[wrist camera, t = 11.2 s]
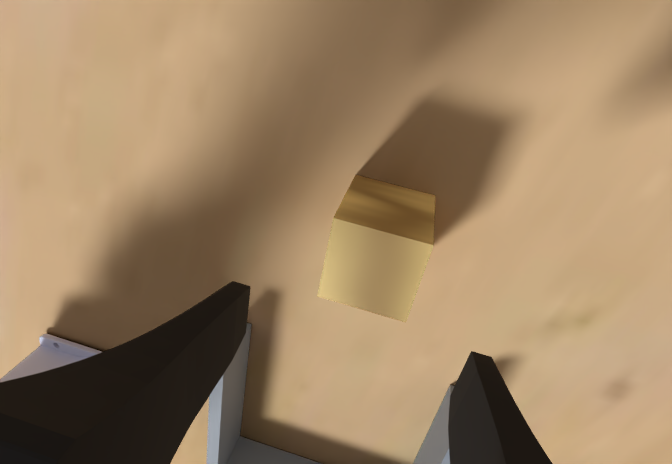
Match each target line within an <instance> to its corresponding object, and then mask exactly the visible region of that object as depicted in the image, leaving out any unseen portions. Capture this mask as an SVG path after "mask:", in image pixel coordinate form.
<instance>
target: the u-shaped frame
mask: <svg viewBox="0 0 672 464" xmlns="http://www.w3.org/2000/svg"><path fill="white" fill-rule="evenodd" d="M251 326H252V324H249V323H247V326H246V334H245V336H244V338H243V340H242V342H241V344H240V346H239V348H238V350H237V352H236V354H235V356H234V358H233V360H232V362H231V363H230V365H229V366H228V368H227V369H226V371H225V373H224V374H223V376H222V377H221V379H220V380H219V382H218V383H217V385H216V386H215V388H214V389H213V391H212V393H211V394H210V396H209V416H208V441H207V464H321V463H318V462H315V461H312V460H309V459H306V458H304V457H301V456H298V455H295V454H292V453H289V452H286V451H283V450H280V449H277V448H274V447H271V446H268V445H265V444H262V443H259V442H256V441H253V440H250V439H247V438H244V437H241V436H240V431H241V422H242V412H243V402H244V393H245V383H246V374H247V364H248V354H249V345H250V335H251ZM453 388H454V386H453V385H450V387H449V389H448V391H447V393H446V395H445V397H444V399H443V401H442V403H441V405H440V408H439V410H438V412H437V414H436V416H435V418H434V420H433V422H432V424H431V427H430V429H429V431H428V433H427V435H426V437H425V439H424V441H423V443H422V446H421V448H420V450H419V452H418V454H417V456H416V458H415V460H414V462H413V464H450V455H449V437H448V420H449V405H450V395H451V393H452V391H453Z"/></svg>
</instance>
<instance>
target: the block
mask: <svg viewBox="0 0 672 464" xmlns="http://www.w3.org/2000/svg"><path fill="white" fill-rule="evenodd" d="M434 218H435V195H432V194H428V193H424V192H420V191H416V190H412V189H409V188H405V187H401V186H397V185H393V184H389V183H386V182H382V181H378V180H374V179H370V178H367V177H363V176H359V175H355V177H354V179H353V181H352V183H351V185H350V187H349V189H348V191H347V193H346V195H345V196H344V198H343V200H342V202H341V204H340V206H339V208H338V210H337V212H336V214H335V216H334V218H333V222H332V227H331V232H330V237H329V241H328V246H327V251H326V256H325V261H324V266H323V271H322V275H321V280H320V285H319V290H318V295H317V297H321V298H324V299H328V300H331V301H334V302H338V303H341V304H345V305H348V306H351V307H355V308H358V309H362V310H365V311H368V312H372V313H375V314H379V315H382V316H385V317H389V318H392V319H396V320H399V321H402V322H406V321H407V318H408V315H409V312H410V309H411V307H412V304H413V301H414V298H415V296H416V293H417V290H418V287H419V284H420V282H421V279H422V276H423V273H424V271H425V268H426V265H427V262H428V259H429V257H430V254H431V251H432V248H433V245H434Z"/></svg>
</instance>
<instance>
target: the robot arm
mask: <svg viewBox="0 0 672 464" xmlns="http://www.w3.org/2000/svg"><path fill="white" fill-rule="evenodd" d="M249 296H250V286H247V285H244V284H240V283H237V282H234V281H233V282H231V283H229V284H227V285H226V286H224V287H223V288H221V289H220V290H218V291H217V292H215V293H214V294H212V295H211V296H209V297H208V298H206V299H204V300H203V301H201V302H200V303H198V304H197V305H195V306H193V307H192V308H190V309H188V310H187V311H185V312H184V313H182V314H180V315H179V316H177V317H175V318H173V319H172V320H170V321H168V322H166V323H164V324H162V325H161V326H159V327H157V328H155V329H153V330H151V331H149V332H147V333H145V334H143V335H141V336H139V337H137V338H135V339H133V340H131V341H129V342H126V343H124V344H122V345H119V346H117V347H115V348H112V349H109V350H107V351H104V352H102V351H99V350H96V349H92V348H89V347H86V346H83V345H80V344H77V343H74V342H71V341H68V340H65V339H62V338H59V337H56V336H53V335H49V334H43V335H42V336H40V338H39V340H40V344H41V346H39V347H38V348H37V349H36V350H35V351H33V352H32V353H31V354H30V355H29V356H27V357H26V358H25V359H24V360H23V361H21V362H20V363H19V364H18V365H17V366H15V367H14V368H13V369H12V370H11V371H9V372H8V373H7V374H6V375H5V376H3V377H2V378H1V379H0V464H170V463H171V461H172V459H173V457H174V455H175V453H176V451H177V449H178V447H179V445H180V443H181V442H182V440H183V438H184V436H185V434H186V432H187V430H188V429H189V427H190V425H191V424H192V422H193V420H194V419H195V417H196V415H197V414H198V412H199V411H200V409H201V408H202V406H203V405H204V403H205V402H206V400H207V399H208V397H209V396H210V394H211V393H212V391H213V389H214V388H215V386H216V385H217V383H218V382H219V380H220V379H221V377H222V376H223V374H224V373H225V371H226V369H227V368H228V366H229V365H230V363H231V362H232V360H233V358H234V356H235V354H236V352H237V350H238V348H239V346H240V344H241V342H242V340H243V338H244V336H245V334H246V326H247V316H248V306H249ZM448 437H449V455H450V464H552V462H551V461H550V459H549V458H548V456H547V455H546V453H545V452H544V450H543V449H542V447H541V446H540V444H539V442H538V441H537V439H536V438H535V436H534V434H533V433H532V431H531V429H530V428H529V426H528V424H527V422H526V421H525V419H524V417H523V415H522V414H521V412H520V410H519V408H518V407H517V405H516V403H515V401H514V399H513V397H512V396H511V394H510V392H509V390H508V388H507V386H506V384H505V382H504V380H503V378H502V376H501V374H500V372H499V370H498V369H497V367H496V365H495V363H494V361H493V359H492V357H490V356H486V355H483V354H479V353H476V352H472V351H471V353H470V355H469V357H468V359H467V361H466V364H465V366H464V368H463V370H462V372H461V374H460V376H459V378H458V380H457V382H456V384H455V386H454V388H453V391H452V393H451V395H450V405H449V420H448Z"/></svg>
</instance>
